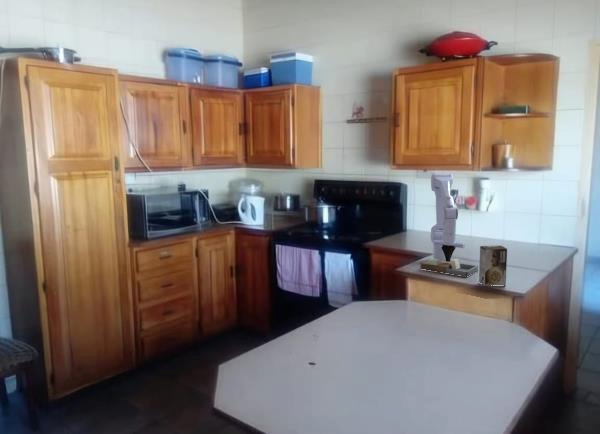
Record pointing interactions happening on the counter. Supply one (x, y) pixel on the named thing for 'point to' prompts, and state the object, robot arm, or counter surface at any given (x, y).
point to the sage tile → (433, 261)
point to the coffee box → (492, 265)
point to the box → (463, 270)
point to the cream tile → (455, 264)
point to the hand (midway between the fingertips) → (448, 261)
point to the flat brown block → (437, 266)
